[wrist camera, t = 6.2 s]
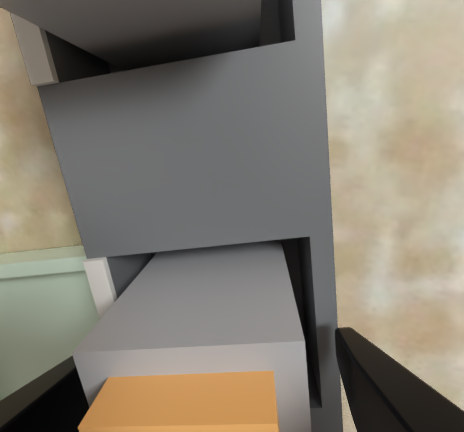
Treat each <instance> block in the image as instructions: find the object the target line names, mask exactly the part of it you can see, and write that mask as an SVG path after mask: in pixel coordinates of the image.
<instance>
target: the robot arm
mask: <svg viewBox="0 0 464 432" xmlns="http://www.w3.org/2000/svg"><path fill="white" fill-rule="evenodd" d="M335 349H336V359H337V363H338V367H339V371H340V374H341V378H342V382H343V385H344V389H345V392H346V396H347V400H348V403H349V407H350V411H351V414H352V417H353V421H354V424H355V426H356V429H357V432H464V411H463V410H462V409H460V408H459V407H458V406H456V405H455V404H453V403H452V402H451V401H449V400H448V399H447V398H445V397H444V396H443V395H441V394H440V393H439V392H437V391H436V390H435V389H433V388H432V387H431V386H429V385H428V384H426V383H425V382H424V381H422V380H421V379H420V378H418V377H417V376H416V375H414V374H413V373H412V372H410V371H409V370H408V369H406V368H405V367H404V366H402V365H401V364H400V363H398V362H397V361H395V360H394V359H393V358H391V357H390V356H389V355H387V354H386V353H385V352H383V351H382V350H381V349H379V348H378V347H377V346H375V345H374V344H373V343H371V342H370V341H369V340H367V339H366V338H364V337H363V336H362V335H360V334H359V333H358V332H356V331H355V330H354V329H352V328H350V327H343V328H336V329H335ZM88 410H89V405H88V402H87V399H86V396H85V392H84V389H83V386H82V383H81V380H80V377H79V374H78V371H77V368H76V365H75V362H74V359H73V355H72V356H71V357H69V358H67V359H66V360H64V361H63V362H61V363H59V364H58V365H56V366H55V367H53V368H51V369H50V370H48V371H47V372H45V373H44V374H42V375H40V376H39V377H37V378H36V379H34V380H32V381H31V382H29V383H28V384H26V385H24V386H23V387H21V388H20V389H18V390H16V391H15V392H13V393H12V394H10V395H9V396H7V397H5V398H4V399H2V400H1V401H0V432H79V430H78V426H79V424H80V423H81V421H82V420H83V418H84V416H85V415H86V413H87V411H88Z"/></svg>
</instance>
